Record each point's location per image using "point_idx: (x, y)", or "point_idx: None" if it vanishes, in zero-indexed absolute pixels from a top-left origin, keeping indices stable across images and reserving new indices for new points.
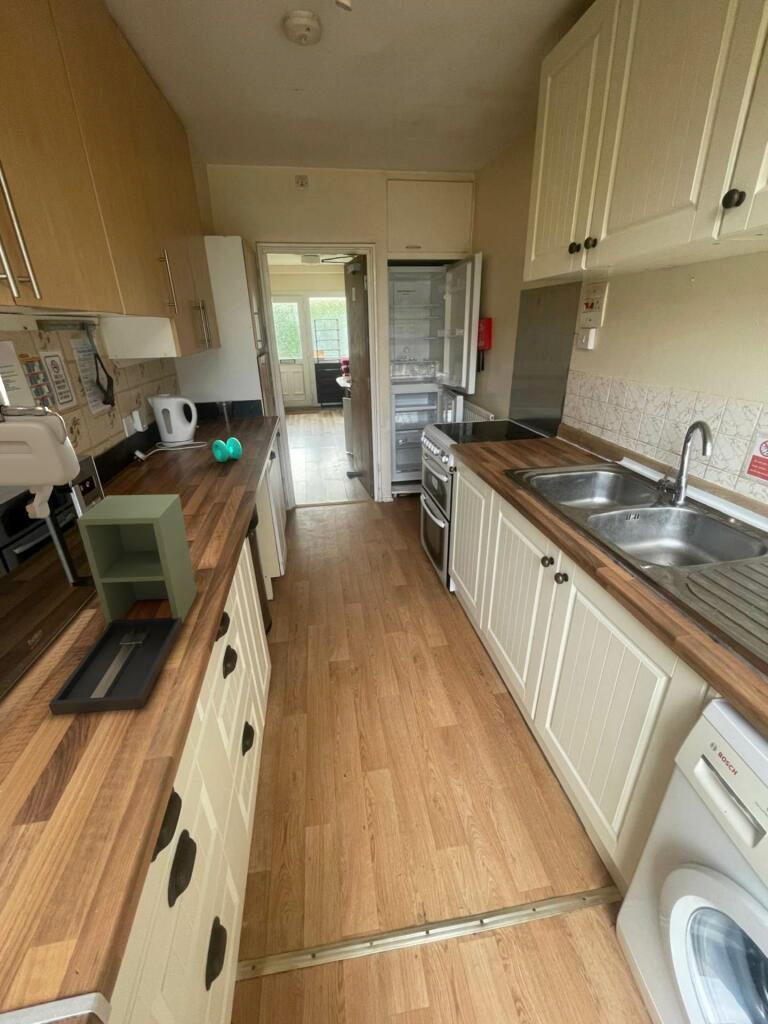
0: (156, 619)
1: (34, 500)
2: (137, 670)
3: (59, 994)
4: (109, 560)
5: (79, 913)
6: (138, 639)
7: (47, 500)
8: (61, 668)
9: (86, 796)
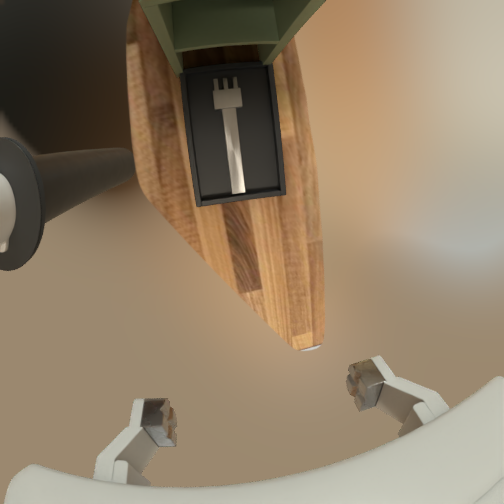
0: (241, 65)
1: (391, 415)
2: (255, 145)
3: (313, 345)
4: (171, 14)
5: (308, 324)
6: (235, 100)
7: (399, 379)
8: (160, 142)
9: (278, 273)
